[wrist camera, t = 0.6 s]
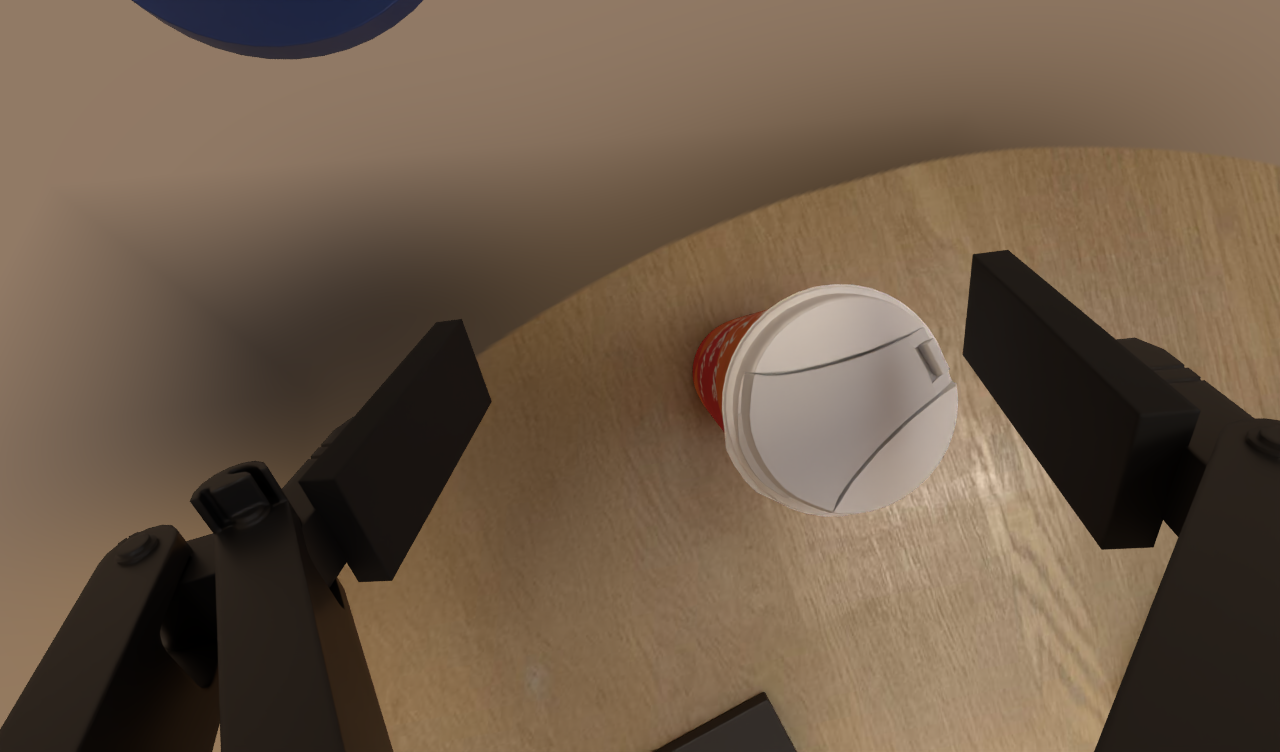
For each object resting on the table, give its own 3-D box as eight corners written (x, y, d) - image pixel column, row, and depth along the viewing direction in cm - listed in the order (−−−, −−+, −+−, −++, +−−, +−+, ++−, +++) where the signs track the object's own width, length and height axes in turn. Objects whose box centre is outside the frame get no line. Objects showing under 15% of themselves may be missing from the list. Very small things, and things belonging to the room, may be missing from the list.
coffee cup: (769, 271, 34) (903, 233, 19) (837, 394, 35) (1015, 448, 20) (643, 347, 34) (680, 367, 19) (715, 469, 35) (803, 577, 20)
